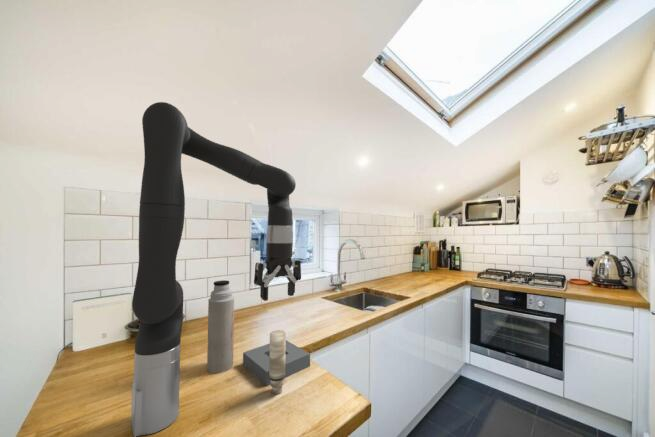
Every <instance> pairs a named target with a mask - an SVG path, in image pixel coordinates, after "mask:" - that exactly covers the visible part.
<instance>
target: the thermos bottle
mask: <svg viewBox="0 0 655 437" xmlns="http://www.w3.org/2000/svg"><path fill="white" fill-rule="evenodd" d="M207 303H208V306H207V308H208V310H207V312H208V313H207V353H206V354H207V356H206V357H207V358H206V360H207V361H206V362H207V363H206V366H207V367H206V369H207V372H209V373H212V374H218V373H224V372H226V371H229V370H230V369H231V368H232V367H233V366H234V337H235V336H234V332H235V328H234V327H235V296H233V290H232V289H230V281H229V280H226V279H225V280H224V279H223V280H216V281H214V282H213V290H212V291H210V298H209V299H208V302H207Z"/></svg>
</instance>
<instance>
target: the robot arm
mask: <svg viewBox="0 0 655 437" xmlns="http://www.w3.org/2000/svg"><path fill="white" fill-rule="evenodd" d="M141 122H142V132H143V133H142V134H143V135H142V136H143V147H144V148H143V149H144V151H143V152H144V161H143V162H144V163H143V172H142V177H141V179H142V180H141V186H140V187H141V188H140V198H139V209H138V210H139V211H138V213H139V215H138V267H137V273H136V279H135V283H134V285H135V286H134V289H133V294H132V295H133V296H132V300H131V308H132V311H133V314H134V316H135V317H136V318H137V319H138V320H139V325H138V331H137V335H136V336H135V340H134V361H133V363H134V364H133V365H134V366H133V381H132V382H131V409H130V412H131V414H130V425H131V429H132V430H131V431H132V435H133V437H136V436H137V437H140V436H144V435H145V436H146V434H147V435H151V434H154V433H155V434H156V433H158V432H160V431H163V430H164V429H166V428H168V427H169V426H170V425H172V424H173V423H174V422H175V421H176V420H177V418H178V416H179V415H180V414H179V413H180V381H181V380H180V379H181V378H180V376H181V374H180V373H181V372H180V371H181V337H182V330H183V321H184V318H183V316H184V289H183V287H182V285H181V283H180V282H179V281H177V275H176V273H177V270H176V268H177V265H176V263H177V256H178V250H179V248H180V245H181V240H182V236H183V230H184V226H185V212H186V211H185V210H186V209H185V208H186V207H185V206H186V198H185V197H186V196H185V186H184V180H183V173H182V155H184V156H188V157H191V158H194V159H196V160H199V161H201V162H204V163H207V164H208V165H211V166H213V167H215V168H218V169H219V170H221V171H222V172H223V171H224V172H225V173H227V174H229V175H231V176H234V177H235V178H238V179H239V180H240V181H241V180H242V181H243V182H246V183H248V184H251V185H253V186H255V185H257V186H260V187H262V188H265V189H266V197H267V207H268V212H267V230H266V239H265V240H266V245H265V246H266V247H265V259H266V261H265V262H256V263H255V266H254V267H255V268H254V277H253V284H254V285H257V286H259V287H260V291H259V292H260V293H259V294H260V299H262V300H263V301H265V302H266V301H268V300H269V285H270V283H271V282H272V281H273V280H274V279H275V278H280V277H285V278H286V279H287V281H288V282H287V295H288V296H290V297H293V296H294V294H295V293H296V283H297V281H301V279H302V265H301V263H302V262H301V260H300V259H299V260H298V259H293V260H292V258H293V242H294V240H293V239H294V238H293V237H294V232H293V210H292V208H291V206H290V195H291V194H292V193H293V192H294V191H295V189H296V186H297V184H296V179H295V178H294V177H293V176H292V174H290V173H289V172H287V171H286V170H284V169H282V168H279V167H276V166H273V165H270V164H268V163H265V162H262V161H260V160H259V159H257V158H255V157H253V156H251V155H249V154H247V153H245V152H243V151H240V150H239V149H236V148H233V147H231V146H227V145H223V144H220V143H217V142H214V141H212V140H210V139H208V138H206V137H204V136H203V135H201V134H200V133H198V132H196V131H194V130H193V129H192V128H191V127H189V125H188V122H187V119H186V117H185V116H184V114H183V113H182V112H181V110H180V109H179V108H177V107H176V106H175V105H173V104H171V103H168V102H165V101H159V102H155V103H153V104H151V105H149V106H148V107H147V108H146V109H145V110H144V112H143V115H142V120H141ZM291 268H292V270H291ZM265 269H266V271H265ZM264 271H265V273H264Z"/></svg>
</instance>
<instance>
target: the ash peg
mask: <svg viewBox="0 0 655 437" xmlns="http://www.w3.org/2000/svg"><path fill="white" fill-rule="evenodd" d="M286 334H287V332H286V331H284V330H281V329H277V330H273V331H271V332H269V344H270V364H269V379H270V380H271V384H270V387H271V393H272V395H280V394H281V393H283V386H284V383H285V379H286V378H285V343H286V340H287V339H286Z"/></svg>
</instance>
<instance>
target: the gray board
mask: <svg viewBox="0 0 655 437" xmlns="http://www.w3.org/2000/svg"><path fill="white" fill-rule="evenodd" d="M269 364H270V343H267V344H264V345H261V346H259V347H256V348H252V349H249V350H246V351H243V353H242V365H243V366H244V367H245V368H246V369H247V370H248V371H249V372H250V373H252V374H253V375H254V376H255V378H257V379H258V380H260V382H262V383H263V385H265V386H267V387H268V386H271V380H270V379H269ZM310 367H311V354H310V353H309V352H308V351H306V350H305V349H302V348H301V347H299V346H297V345H295V344H294V343H292V342H290V341H289V340H287V339H286V343H285V378H284V379H286V378H288V377H289V376H291V375H294V374H296V373H298V372H300V371H302V370H305V369H308V368H310Z"/></svg>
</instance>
